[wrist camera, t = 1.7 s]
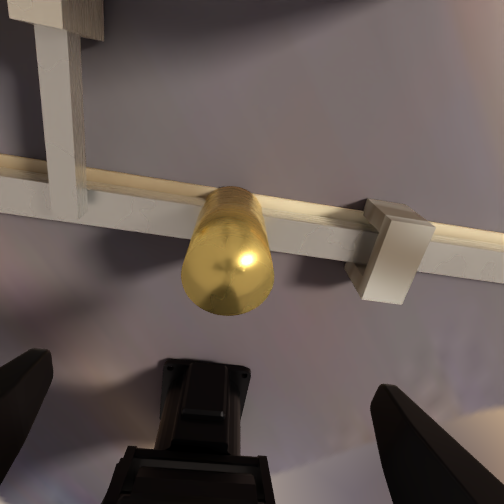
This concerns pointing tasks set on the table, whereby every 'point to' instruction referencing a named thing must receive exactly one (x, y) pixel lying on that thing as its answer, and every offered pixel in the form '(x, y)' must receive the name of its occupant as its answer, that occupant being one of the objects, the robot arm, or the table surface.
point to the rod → (179, 206)
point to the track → (375, 213)
